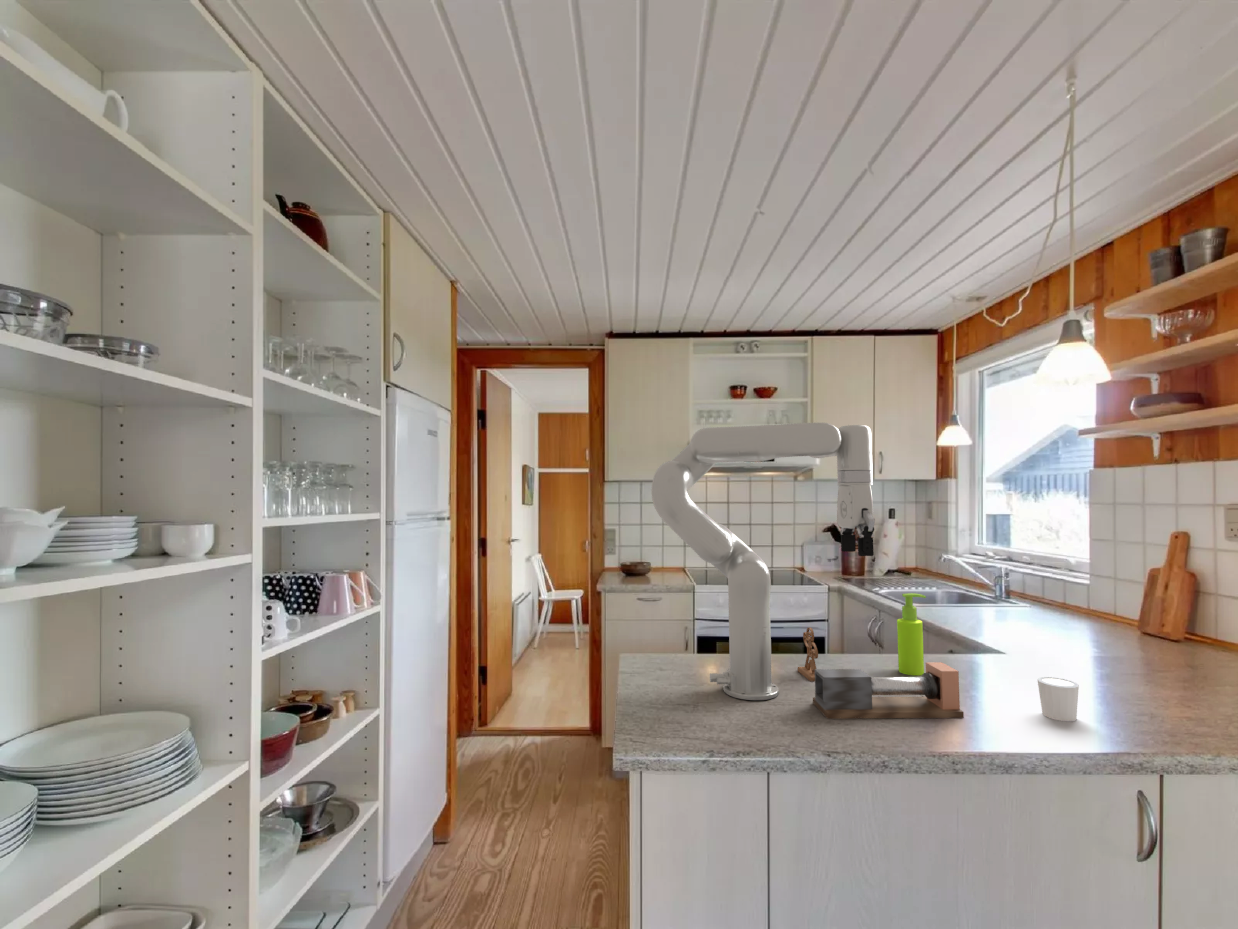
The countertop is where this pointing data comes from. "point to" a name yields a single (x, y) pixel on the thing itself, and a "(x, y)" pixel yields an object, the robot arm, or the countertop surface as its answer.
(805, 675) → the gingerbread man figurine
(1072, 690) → the white cup
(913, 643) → the soap dispenser
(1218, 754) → the countertop surface
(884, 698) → the stand
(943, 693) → the socket block
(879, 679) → the steel tube
